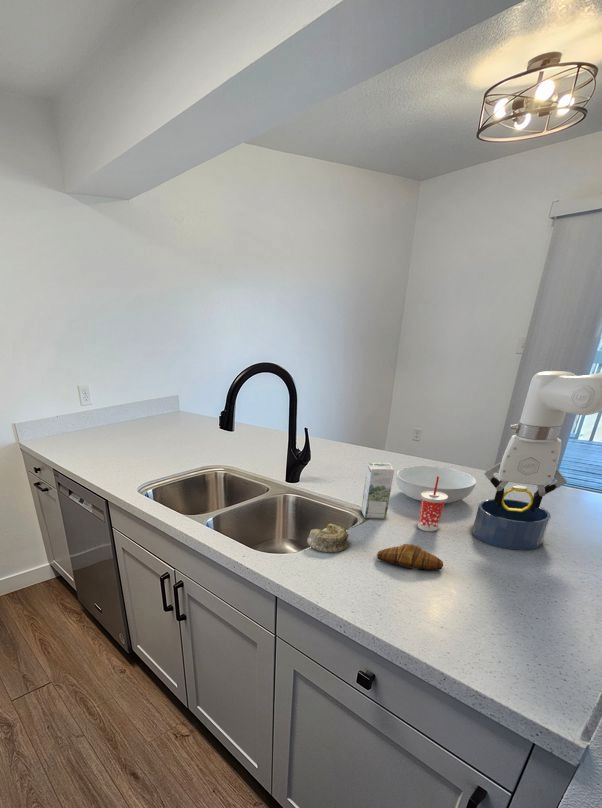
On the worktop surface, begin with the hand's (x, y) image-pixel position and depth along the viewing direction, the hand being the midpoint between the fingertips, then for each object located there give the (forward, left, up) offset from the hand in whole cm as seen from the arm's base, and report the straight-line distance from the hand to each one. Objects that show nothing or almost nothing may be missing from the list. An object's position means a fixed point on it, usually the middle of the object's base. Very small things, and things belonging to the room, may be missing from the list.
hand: (515, 506), depth 103 cm
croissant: (+18, +25, -8) cm, 32 cm away
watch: (0, 0, -1) cm, 1 cm away
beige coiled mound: (+37, +23, -8) cm, 44 cm away
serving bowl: (+19, -19, -8) cm, 28 cm away
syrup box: (+31, +1, -8) cm, 32 cm away
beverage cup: (+17, +3, -8) cm, 19 cm away
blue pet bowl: (0, 0, -8) cm, 8 cm away
